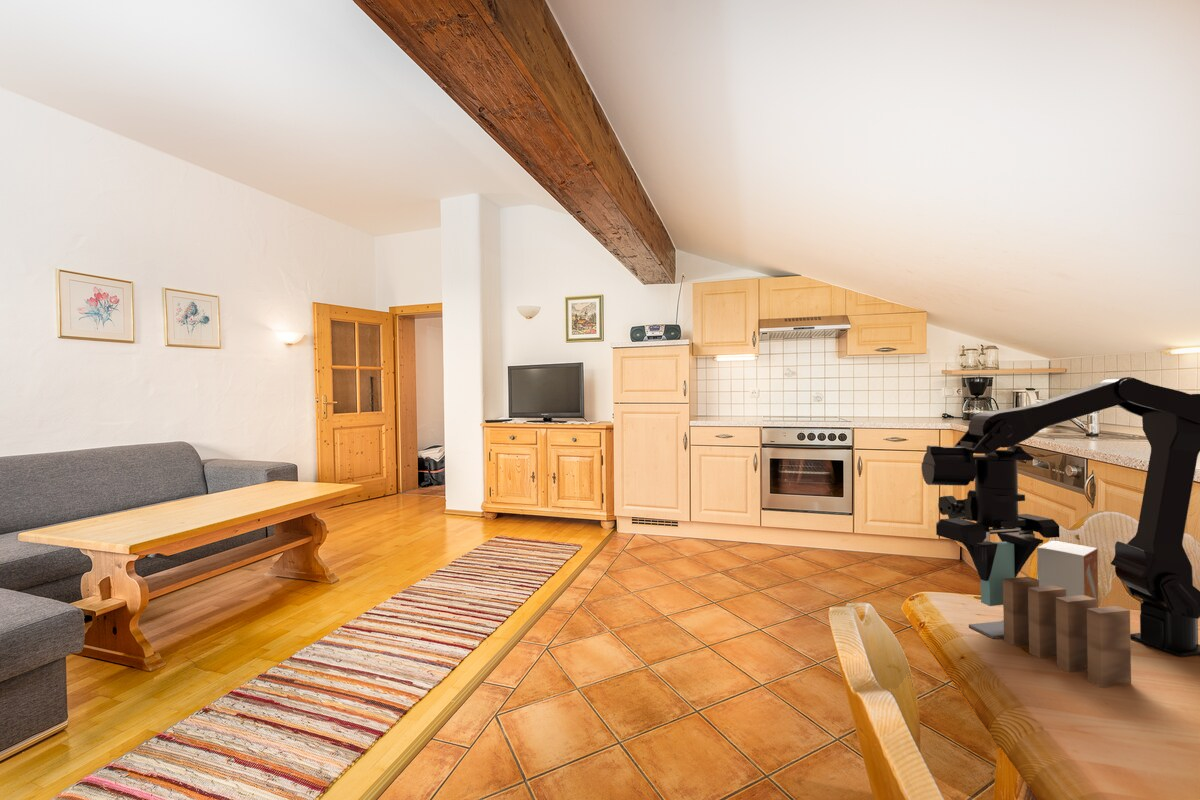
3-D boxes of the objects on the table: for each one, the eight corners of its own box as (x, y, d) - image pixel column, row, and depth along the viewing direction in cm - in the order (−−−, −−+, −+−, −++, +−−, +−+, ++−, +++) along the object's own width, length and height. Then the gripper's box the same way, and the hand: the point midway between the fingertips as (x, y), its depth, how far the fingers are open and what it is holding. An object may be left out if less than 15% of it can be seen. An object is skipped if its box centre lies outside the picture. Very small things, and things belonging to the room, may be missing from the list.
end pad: (1003, 623, 87) (1003, 620, 87) (1028, 634, 83) (1028, 632, 83) (968, 626, 86) (968, 624, 86) (992, 638, 82) (992, 635, 82)
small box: (1085, 634, 83) (1084, 555, 83) (1036, 621, 88) (1035, 546, 88) (1100, 622, 87) (1098, 547, 87) (1052, 610, 93) (1051, 539, 93)
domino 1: (1006, 600, 86) (1004, 541, 86) (1015, 603, 84) (1014, 544, 84) (981, 602, 85) (979, 543, 85) (989, 606, 83) (988, 545, 83)
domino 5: (1117, 677, 70) (1115, 605, 70) (1131, 683, 68) (1129, 610, 69) (1087, 681, 69) (1086, 608, 69) (1101, 687, 68) (1100, 613, 68)
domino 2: (1029, 638, 82) (1028, 576, 82) (1040, 642, 80) (1038, 580, 80) (1003, 640, 81) (1002, 578, 81) (1013, 645, 79) (1012, 582, 79)
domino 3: (1056, 649, 78) (1054, 585, 78) (1067, 654, 76) (1066, 589, 76) (1029, 653, 77) (1027, 587, 77) (1039, 658, 75) (1038, 591, 76)
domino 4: (1085, 662, 74) (1083, 594, 74) (1097, 668, 72) (1096, 599, 72) (1056, 666, 73) (1055, 597, 73) (1068, 672, 72) (1067, 601, 72)
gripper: (997, 477, 94) (999, 560, 94) (910, 481, 91) (911, 567, 91) (1061, 487, 83) (1063, 581, 83) (964, 492, 80) (966, 590, 80)
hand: (997, 579), depth 85 cm, fingers closed on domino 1, 5 cm apart
